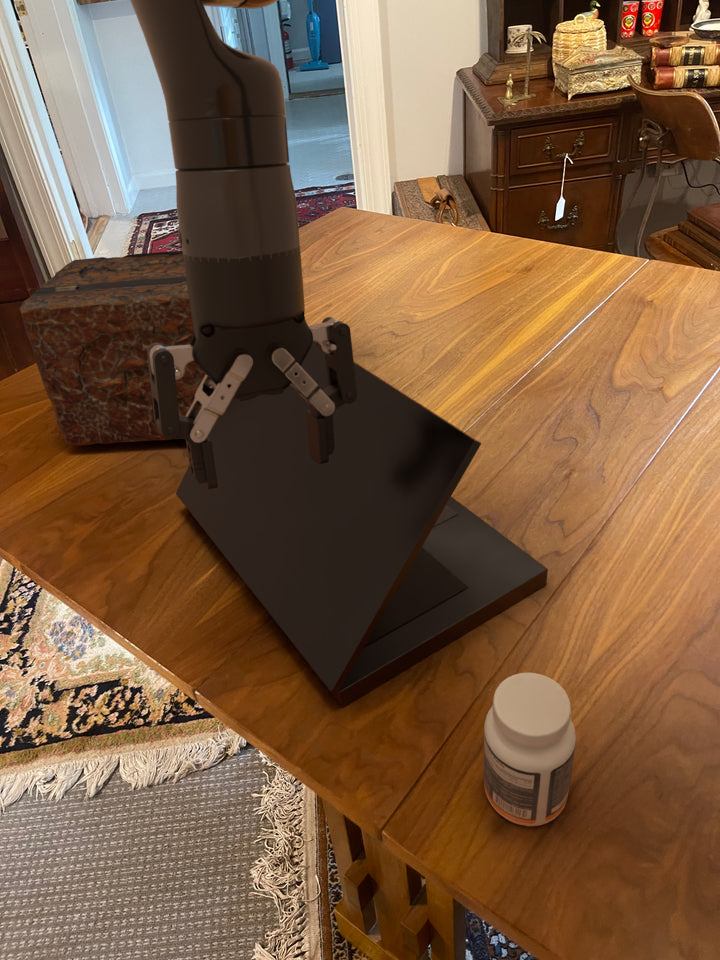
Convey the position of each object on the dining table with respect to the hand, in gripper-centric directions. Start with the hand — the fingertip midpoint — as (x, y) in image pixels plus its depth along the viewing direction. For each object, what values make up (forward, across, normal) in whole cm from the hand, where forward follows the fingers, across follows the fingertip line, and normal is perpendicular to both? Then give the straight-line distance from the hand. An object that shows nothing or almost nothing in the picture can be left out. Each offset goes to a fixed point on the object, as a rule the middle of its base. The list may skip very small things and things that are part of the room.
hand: (266, 472), depth 54 cm
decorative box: (+10, +5, +44) cm, 46 cm away
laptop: (+15, +11, +11) cm, 21 cm away
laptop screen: (+5, +6, +9) cm, 11 cm away
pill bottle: (+20, +10, -19) cm, 29 cm away
